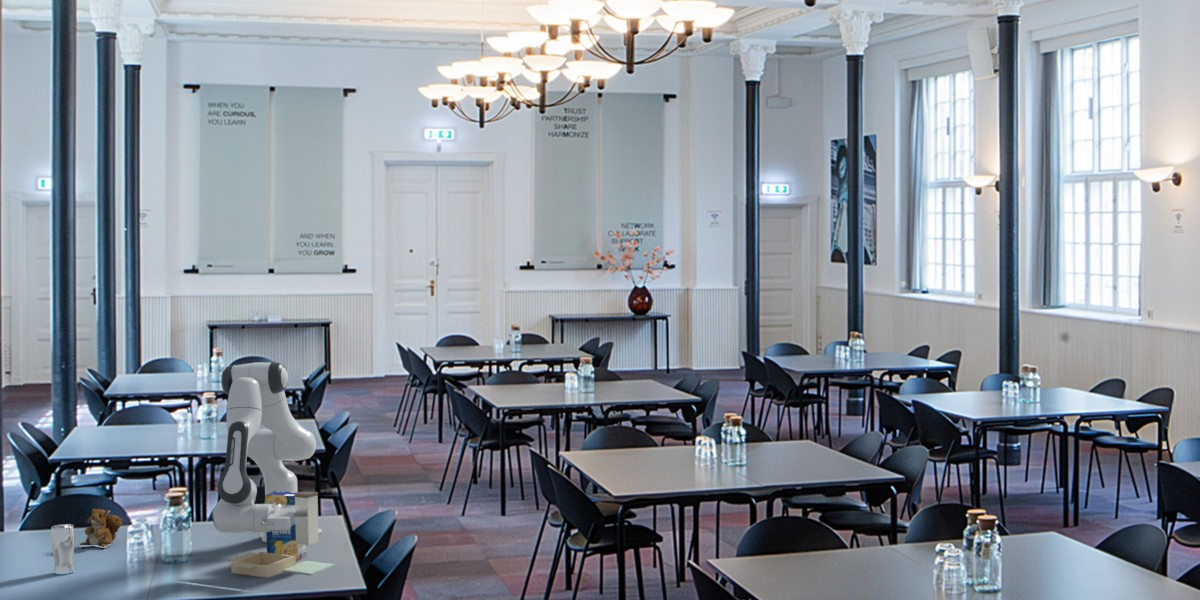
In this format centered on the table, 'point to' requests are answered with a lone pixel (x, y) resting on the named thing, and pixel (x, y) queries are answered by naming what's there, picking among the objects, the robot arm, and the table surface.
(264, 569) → the beige square tray
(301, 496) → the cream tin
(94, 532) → the stuffed squirrel
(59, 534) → the beer glass
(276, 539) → the beverage box
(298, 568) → the pad
